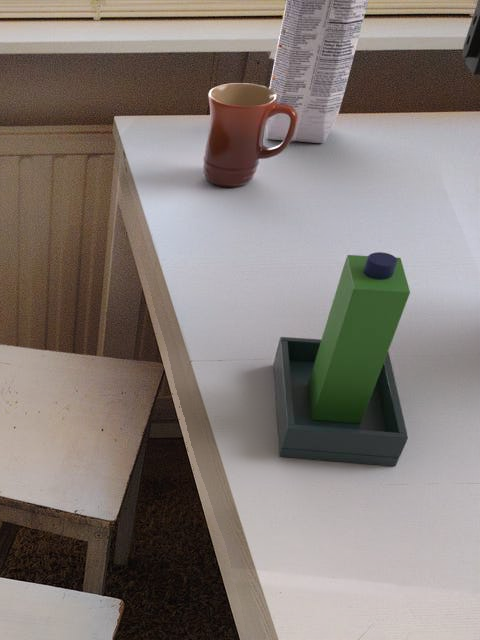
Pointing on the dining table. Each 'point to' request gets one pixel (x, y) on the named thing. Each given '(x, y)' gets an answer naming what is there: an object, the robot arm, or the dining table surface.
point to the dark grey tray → (329, 436)
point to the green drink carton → (357, 336)
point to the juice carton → (314, 65)
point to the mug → (241, 132)
